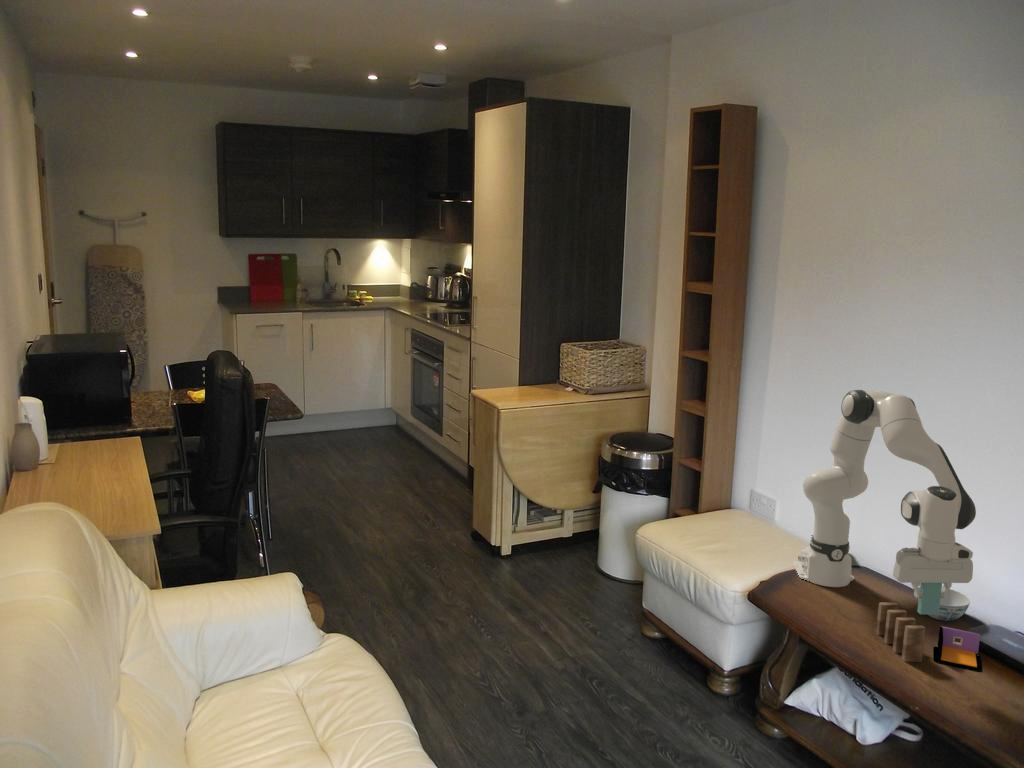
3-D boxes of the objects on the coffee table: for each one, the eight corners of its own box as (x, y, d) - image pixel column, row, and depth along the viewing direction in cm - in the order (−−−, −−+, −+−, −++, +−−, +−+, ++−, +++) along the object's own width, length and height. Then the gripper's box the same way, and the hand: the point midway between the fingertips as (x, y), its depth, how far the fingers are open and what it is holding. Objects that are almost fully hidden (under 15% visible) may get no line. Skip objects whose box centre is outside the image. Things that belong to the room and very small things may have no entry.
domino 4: (904, 661, 231) (908, 628, 229) (901, 658, 233) (905, 625, 231) (921, 661, 231) (925, 628, 230) (918, 658, 233) (922, 625, 231)
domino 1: (878, 636, 246) (881, 604, 244) (875, 634, 247) (879, 602, 246) (894, 636, 246) (898, 604, 244) (892, 634, 248) (895, 602, 246)
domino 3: (895, 652, 236) (898, 619, 234) (892, 650, 237) (896, 617, 236) (912, 653, 236) (916, 620, 234) (909, 650, 238) (913, 617, 236)
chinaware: (912, 622, 256) (914, 599, 254) (914, 604, 269) (916, 582, 267) (967, 634, 249) (970, 610, 247) (966, 615, 262) (969, 592, 260)
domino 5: (920, 614, 223) (924, 579, 222) (917, 611, 225) (921, 576, 223) (938, 614, 223) (942, 579, 222) (935, 611, 225) (939, 576, 223)
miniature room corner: (932, 645, 242) (935, 623, 241) (979, 654, 237) (982, 632, 235) (933, 663, 231) (936, 640, 230) (982, 673, 226) (985, 650, 225)
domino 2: (886, 644, 241) (890, 612, 239) (883, 641, 242) (887, 609, 241) (903, 644, 241) (907, 612, 239) (900, 642, 243) (904, 609, 241)
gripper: (903, 552, 217) (897, 601, 220) (979, 552, 219) (972, 602, 221) (891, 543, 224) (886, 591, 226) (965, 544, 225) (959, 592, 227)
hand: (929, 597), depth 223 cm, fingers closed on domino 5, 5 cm apart
